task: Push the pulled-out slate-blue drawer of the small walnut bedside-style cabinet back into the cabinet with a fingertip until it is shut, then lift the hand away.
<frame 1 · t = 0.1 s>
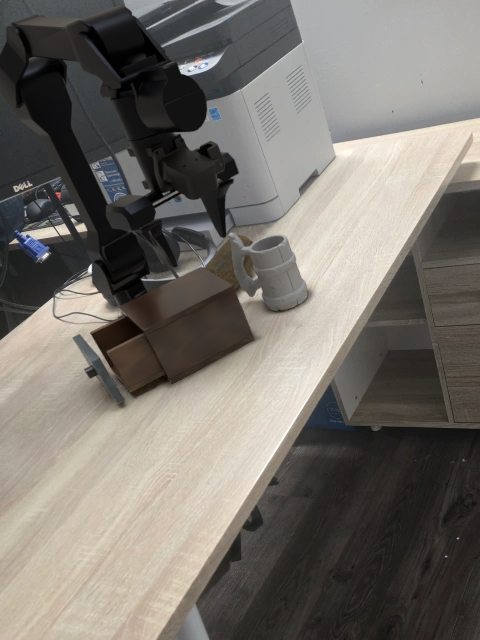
hand: (199, 251, 93), 15 cm above the table, tool pointing down, fingers open, 9 cm apart
mug: (277, 302, 110), on the table
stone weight: (234, 286, 119), on the table
cabinet: (198, 348, 104), on the table
drawer: (132, 351, 98), point 5 cm above the table, slide at 7.0 cm
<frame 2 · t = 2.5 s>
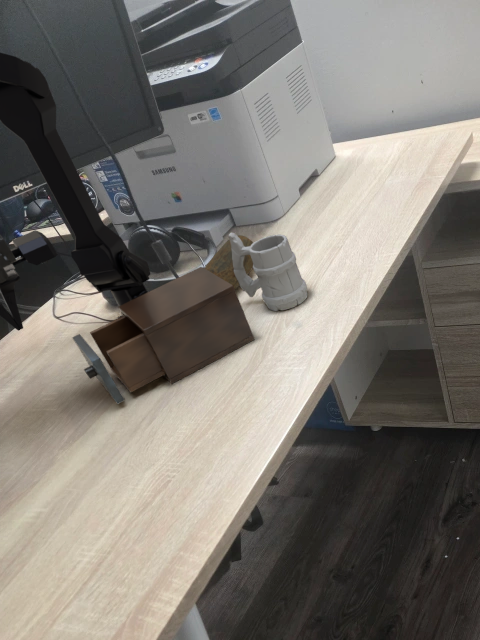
hand: (20, 328, 92), 13 cm above the table, tool pointing down, fingers closed
nothing on the table moved.
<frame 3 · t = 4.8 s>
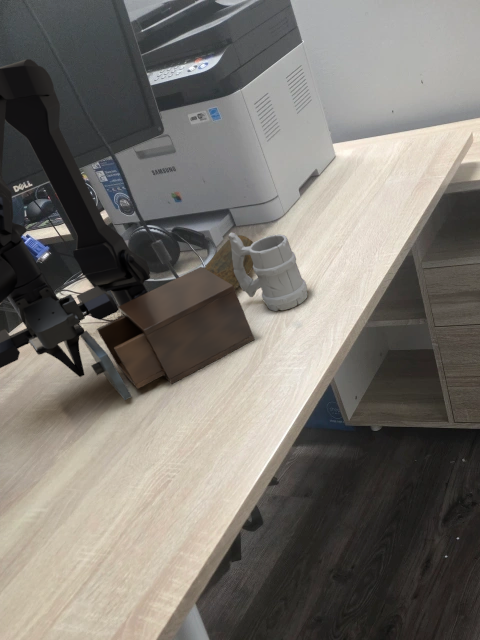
hand: (81, 375, 99), 3 cm above the table, tool pointing down, fingers closed
drawer: (139, 347, 98), point 5 cm above the table, slide at 5.8 cm, touching gripper
everything else where it was.
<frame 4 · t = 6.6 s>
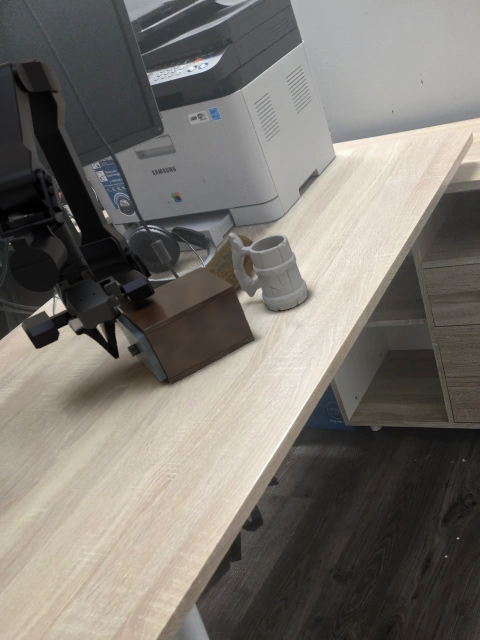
hand: (116, 357, 101), 3 cm above the table, tool pointing down, fingers closed
drawer: (173, 330, 100), point 5 cm above the table, slide at 0.0 cm, touching cabinet, gripper
everything else where it was.
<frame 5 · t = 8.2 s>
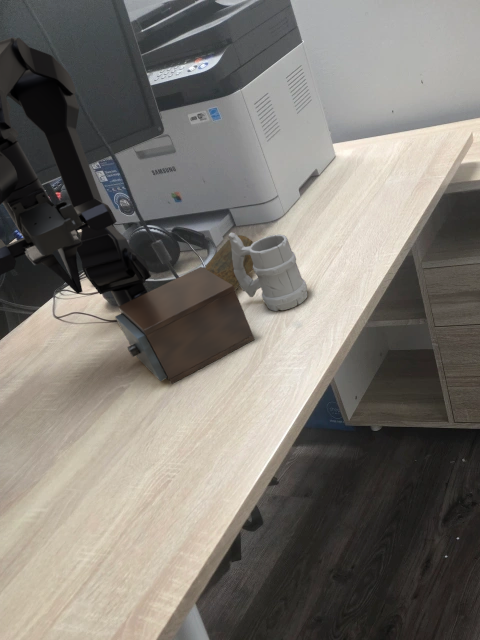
hand: (79, 292, 98), 13 cm above the table, tool pointing down, fingers closed
drawer: (173, 330, 100), point 5 cm above the table, slide at 0.0 cm, touching cabinet
everything else where it was.
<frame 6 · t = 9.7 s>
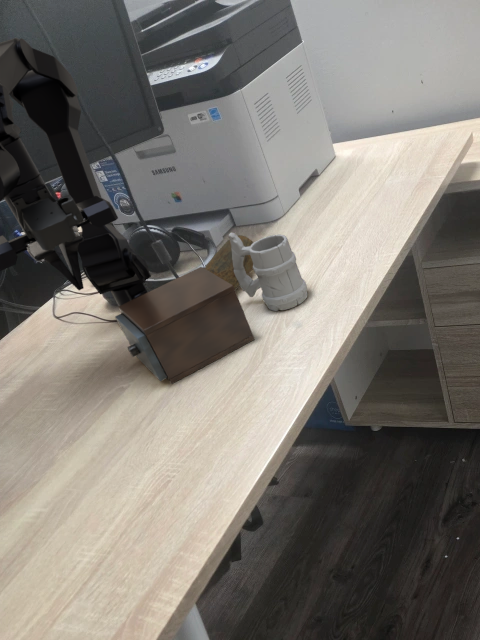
hand: (80, 288, 98), 13 cm above the table, tool pointing down, fingers closed
nothing on the table moved.
at the end: drawer slide at 0.0 cm; mug tilted 0° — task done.
